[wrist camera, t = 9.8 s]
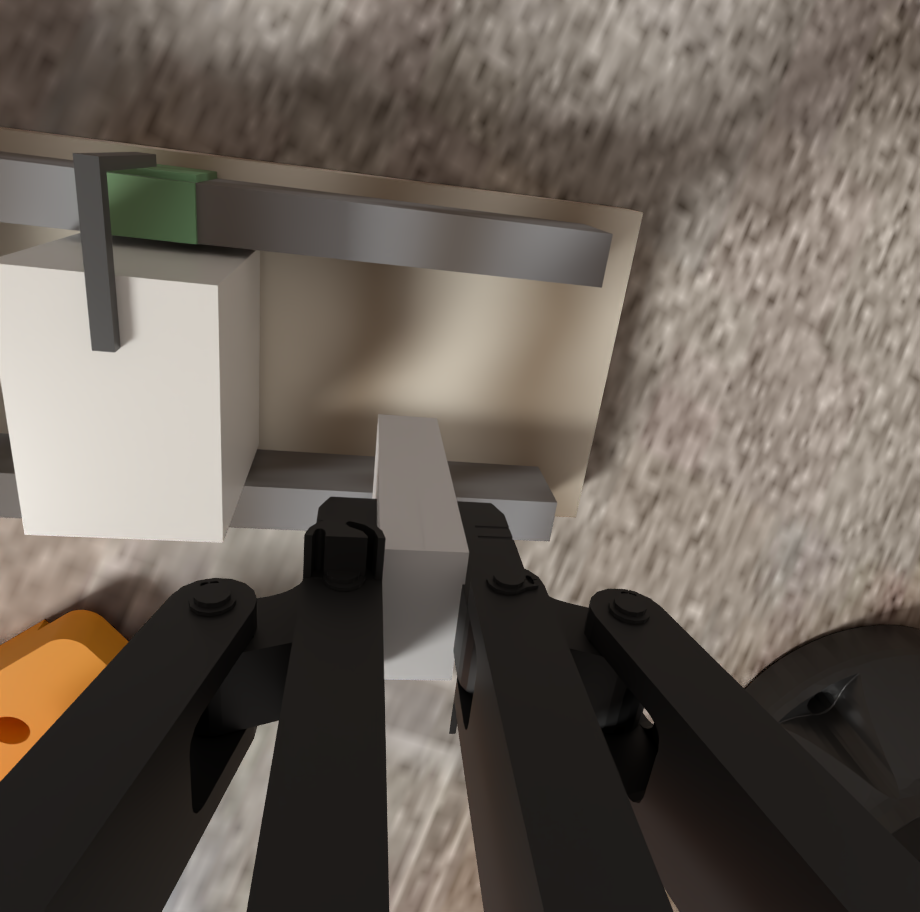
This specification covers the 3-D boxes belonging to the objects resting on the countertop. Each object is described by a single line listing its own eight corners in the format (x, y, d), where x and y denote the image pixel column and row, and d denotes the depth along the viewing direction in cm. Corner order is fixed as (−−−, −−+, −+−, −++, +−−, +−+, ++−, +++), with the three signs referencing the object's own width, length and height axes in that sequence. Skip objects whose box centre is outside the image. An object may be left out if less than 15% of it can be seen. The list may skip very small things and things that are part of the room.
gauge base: (623, 207, 25) (768, 242, 16) (563, 494, 30) (648, 646, 21) (-332, 83, 20) (-907, 31, 11) (-219, 451, 25) (-554, 625, 16)
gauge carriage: (260, 163, 21) (211, 170, 14) (258, 443, 25) (220, 550, 18) (-63, 121, 19) (-281, 108, 13) (-12, 426, 23) (-159, 535, 17)
